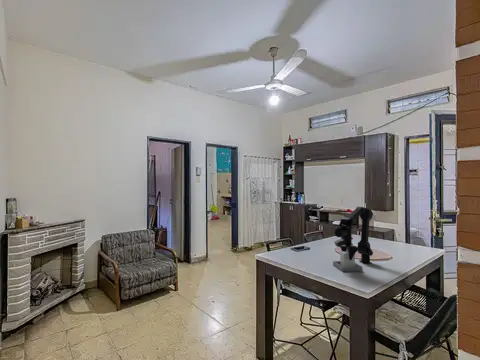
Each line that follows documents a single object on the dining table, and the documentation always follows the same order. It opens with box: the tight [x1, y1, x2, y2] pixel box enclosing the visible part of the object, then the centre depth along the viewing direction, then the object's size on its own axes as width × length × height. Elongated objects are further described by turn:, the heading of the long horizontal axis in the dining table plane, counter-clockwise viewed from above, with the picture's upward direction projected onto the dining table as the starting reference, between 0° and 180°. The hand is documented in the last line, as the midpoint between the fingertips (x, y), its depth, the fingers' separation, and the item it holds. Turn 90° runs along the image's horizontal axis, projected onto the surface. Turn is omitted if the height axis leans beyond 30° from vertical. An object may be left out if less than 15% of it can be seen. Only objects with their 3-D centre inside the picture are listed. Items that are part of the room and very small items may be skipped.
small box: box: [339, 250, 356, 267], centre depth 180 cm, size 8×6×10 cm
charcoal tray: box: [332, 260, 363, 273], centre depth 180 cm, size 14×14×3 cm
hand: (347, 258), depth 180 cm, fingers open, 9 cm apart
